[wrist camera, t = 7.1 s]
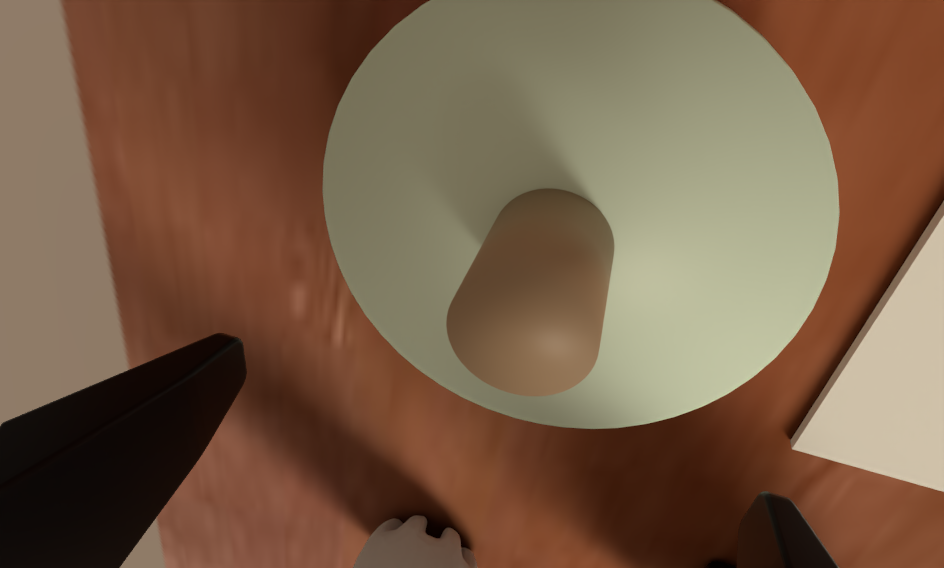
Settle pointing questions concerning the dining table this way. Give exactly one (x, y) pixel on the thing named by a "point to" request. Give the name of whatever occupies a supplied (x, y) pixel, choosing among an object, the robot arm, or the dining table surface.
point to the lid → (581, 203)
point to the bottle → (413, 547)
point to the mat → (891, 379)
